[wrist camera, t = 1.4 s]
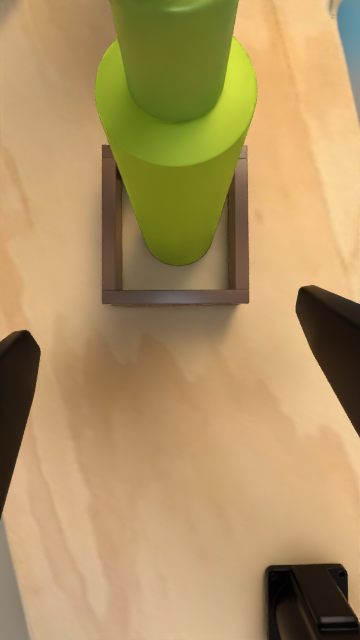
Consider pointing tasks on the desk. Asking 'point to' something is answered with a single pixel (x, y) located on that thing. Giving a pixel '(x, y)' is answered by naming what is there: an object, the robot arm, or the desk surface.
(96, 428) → the desk surface
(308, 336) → the robot arm
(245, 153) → the brown wooden tray
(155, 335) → the desk surface
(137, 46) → the soap dispenser
